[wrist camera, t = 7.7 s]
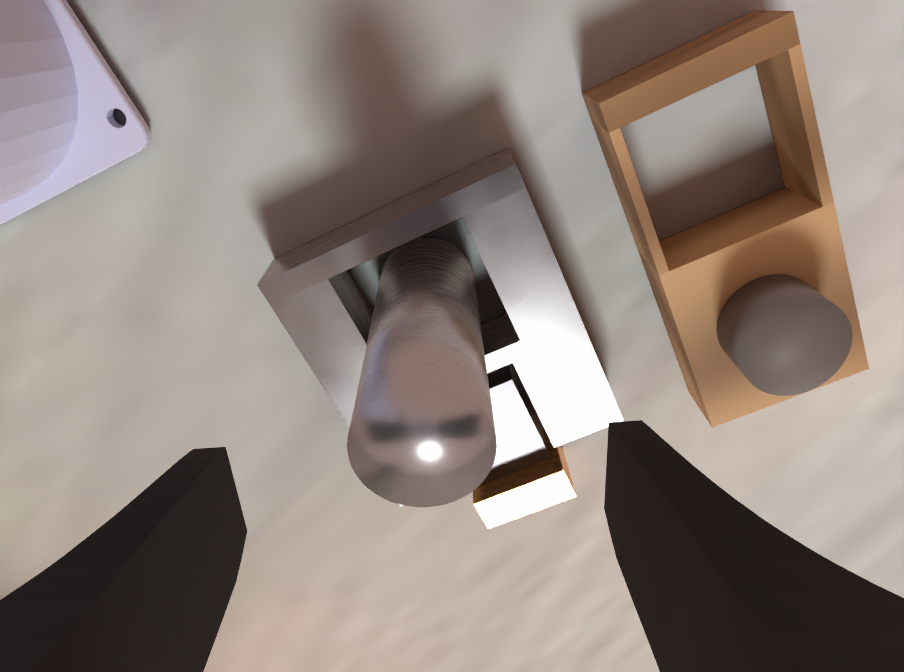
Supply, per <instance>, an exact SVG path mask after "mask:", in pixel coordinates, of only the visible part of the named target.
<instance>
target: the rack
mask: <svg viewBox="0 0 904 672" xmlns="http://www.w3.org/2000/svg"><path fill="white" fill-rule="evenodd" d="M754 65H756V69H757V73H758V77H759V81H760V85H761V89H762V94H763V98H764V102H765V106H766V110H767V114H768V118H769V122H770V127H771V131H772V135H773V139H774V143H775V147H776V151H777V155H778V160H779V164H780V168H781V172H782V176H783V180H784V184H785V188H782V189H780V190H778V191H775V192H773V193H771V194H768V195H766V196H764V197H761V198H759V199H757V200H754V201H752V202H750V203H747V204H745V205H743V206H740V207H738V208H736V209H734V210H731V211H729V212H727V213H724V214H722V215H720V216H717V217H715V218H713V219H710V220H708V221H706V222H703V223H701V224H699V225H696V226H694V227H692V228H689V229H687V230H685V231H682V232H680V233H678V234H675V235H673V236H671V237H668V238H666V239H664V240H661V241H659V240H658V237H657V234H656V231H655V229H654V226H653V223H652V220H651V217H650V214H649V211H648V208H647V205H646V202H645V199H644V196H643V193H642V191H641V188H640V185H639V182H638V179H637V176H636V173H635V170H634V167H633V164H632V161H631V158H630V155H629V152H628V150H627V147H626V144H625V141H624V138H623V135H622V132H621V129H620V127H623V126H625V125H627V124H629V123H631V122H633V121H635V120H638V119H640V118H642V117H644V116H646V115H648V114H650V113H653V112H655V111H657V110H659V109H661V108H663V107H666V106H668V105H670V104H672V103H674V102H676V101H678V100H681V99H683V98H685V97H687V96H689V95H691V94H693V93H696V92H698V91H700V90H702V89H704V88H706V87H709V86H711V85H713V84H715V83H717V82H719V81H721V80H724V79H726V78H728V77H730V76H732V75H734V74H736V73H739V72H741V71H743V70H745V69H747V68H749V67H751V66H754ZM582 95H583V98H584V101H585V103H586V106H587V109H588V112H589V115H590V117H591V120H592V123H593V126H594V129H595V131H596V134H597V137H598V140H599V142H600V145H601V148H602V151H603V154H604V156H605V159H606V162H607V165H608V168H609V170H610V173H611V176H612V179H613V182H614V184H615V187H616V190H617V193H618V195H619V198H620V201H621V204H622V207H623V209H624V212H625V215H626V218H627V221H628V223H629V226H630V229H631V232H632V234H633V237H634V240H635V243H636V246H637V248H638V251H639V254H640V257H641V260H642V262H643V265H644V268H645V271H646V274H647V276H648V279H649V282H650V285H651V287H652V290H653V293H654V296H655V299H656V301H657V304H658V307H659V310H660V313H661V315H662V318H663V321H664V324H665V327H666V329H667V332H668V335H669V338H670V340H671V343H672V346H673V349H674V352H675V354H676V357H677V360H678V363H679V366H680V368H681V371H682V374H683V377H684V379H685V382H686V385H687V388H688V391H689V393H690V394H691V396H692V397H693V399H694V400H695V402H696V403H697V405H698V407H699V408H700V410H701V411H702V413H703V414H704V416H705V417H706V419H707V420H708V422H709V423H710V425H711V426H712V427H715V426H717V425H720V424H723V423H725V422H728V421H731V420H733V419H736V418H739V417H741V416H744V415H747V414H749V413H752V412H755V411H757V410H760V409H763V408H765V407H768V406H771V405H773V404H776V403H779V402H781V401H784V400H787V399H789V398H792V397H795V396H797V395H800V394H803V393H805V392H808V391H811V390H813V389H816V388H818V387H821V386H824V385H826V384H829V383H832V382H834V381H837V380H840V379H842V378H845V377H848V376H850V375H853V374H856V373H858V372H861V371H864V370H866V369H869V367H868V362H867V357H866V352H865V348H864V343H863V338H862V334H861V329H860V324H859V319H858V315H857V310H856V305H855V300H854V296H853V291H852V286H851V282H850V277H849V272H848V267H847V263H846V258H845V253H844V248H843V244H842V239H841V234H840V229H839V225H838V220H837V215H836V211H835V206H834V201H833V196H832V192H831V187H830V182H829V177H828V173H827V168H826V163H825V159H824V154H823V149H822V144H821V140H820V135H819V130H818V125H817V121H816V116H815V111H814V106H813V102H812V97H811V92H810V88H809V83H808V78H807V73H806V69H805V64H804V59H803V54H802V50H801V45H800V40H799V36H798V31H797V26H796V21H795V17H794V12H793V11H753V12H751V13H748V14H746V15H744V16H742V17H740V18H738V19H736V20H734V21H732V22H730V23H728V24H726V25H723V26H721V27H719V28H717V29H715V30H713V31H711V32H709V33H707V34H705V35H703V36H701V37H698V38H696V39H694V40H692V41H690V42H688V43H686V44H684V45H682V46H680V47H678V48H675V49H673V50H671V51H669V52H667V53H665V54H663V55H661V56H659V57H657V58H655V59H653V60H650V61H648V62H646V63H644V64H642V65H640V66H638V67H636V68H634V69H632V70H630V71H628V72H625V73H623V74H621V75H619V76H617V77H615V78H613V79H611V80H609V81H607V82H605V83H602V84H600V85H598V86H596V87H594V88H592V89H590V90H588V91H586V92H584V93H582Z"/></svg>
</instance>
